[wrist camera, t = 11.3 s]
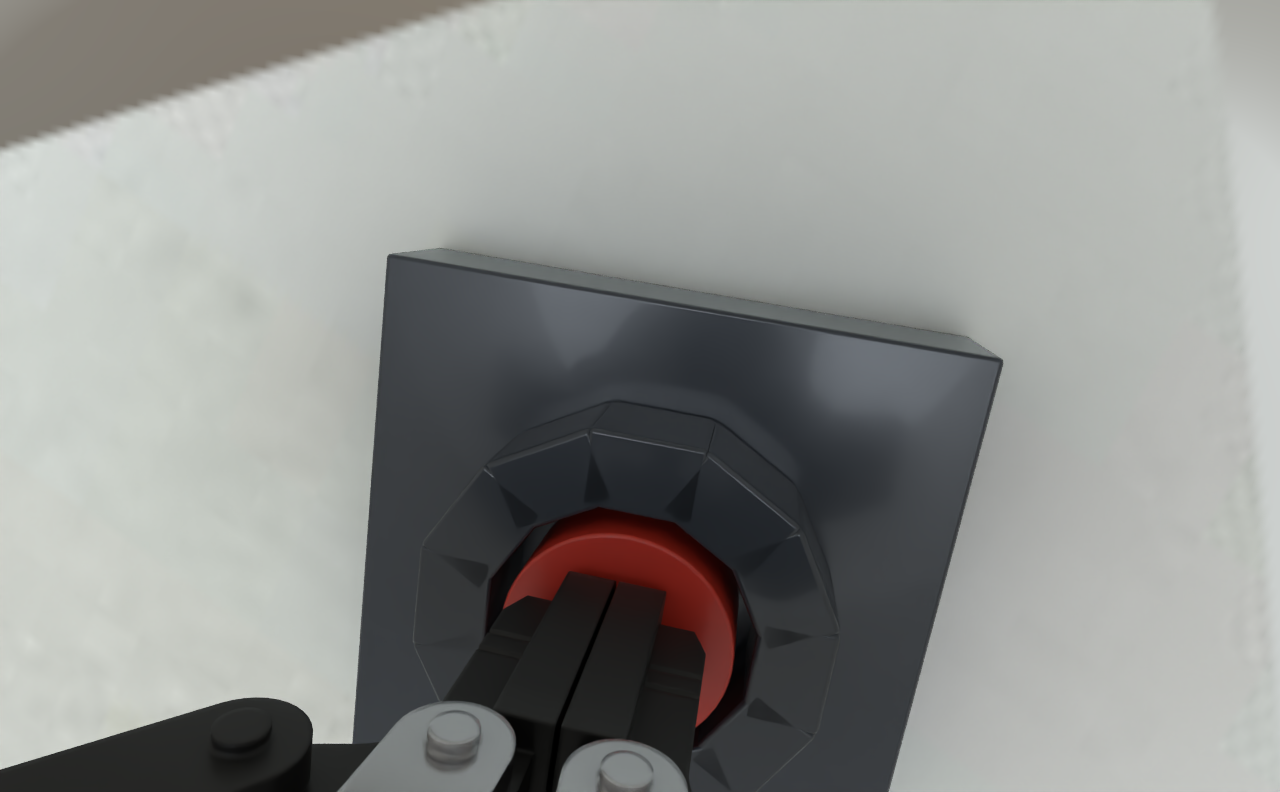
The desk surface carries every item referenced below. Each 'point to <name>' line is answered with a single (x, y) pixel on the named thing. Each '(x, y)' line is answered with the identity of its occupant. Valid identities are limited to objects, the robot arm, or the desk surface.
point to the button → (646, 580)
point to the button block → (673, 490)
